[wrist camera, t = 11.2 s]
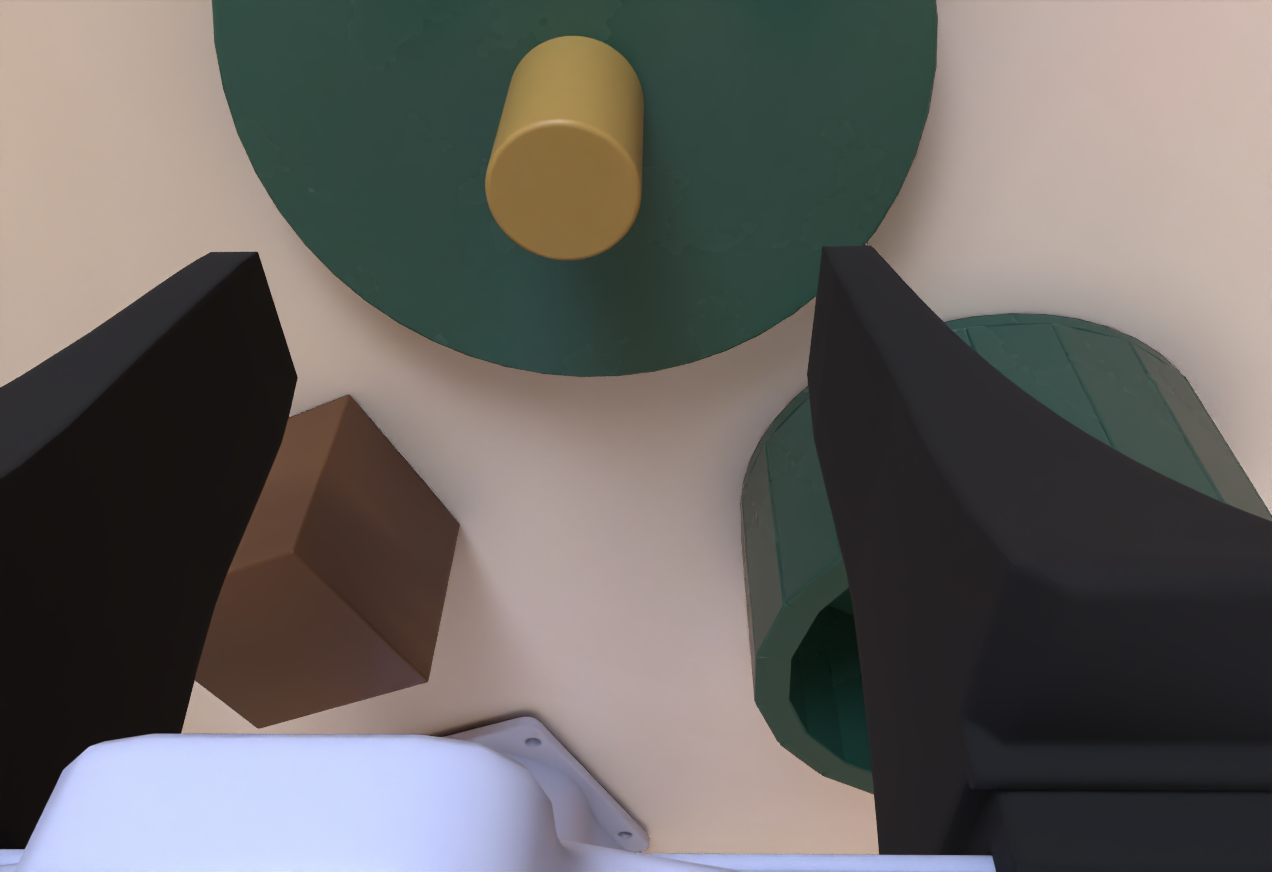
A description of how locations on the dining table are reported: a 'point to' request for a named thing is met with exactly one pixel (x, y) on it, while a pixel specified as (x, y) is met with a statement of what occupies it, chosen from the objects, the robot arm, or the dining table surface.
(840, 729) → the tin
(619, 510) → the dining table surface
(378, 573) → the block
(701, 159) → the lid
